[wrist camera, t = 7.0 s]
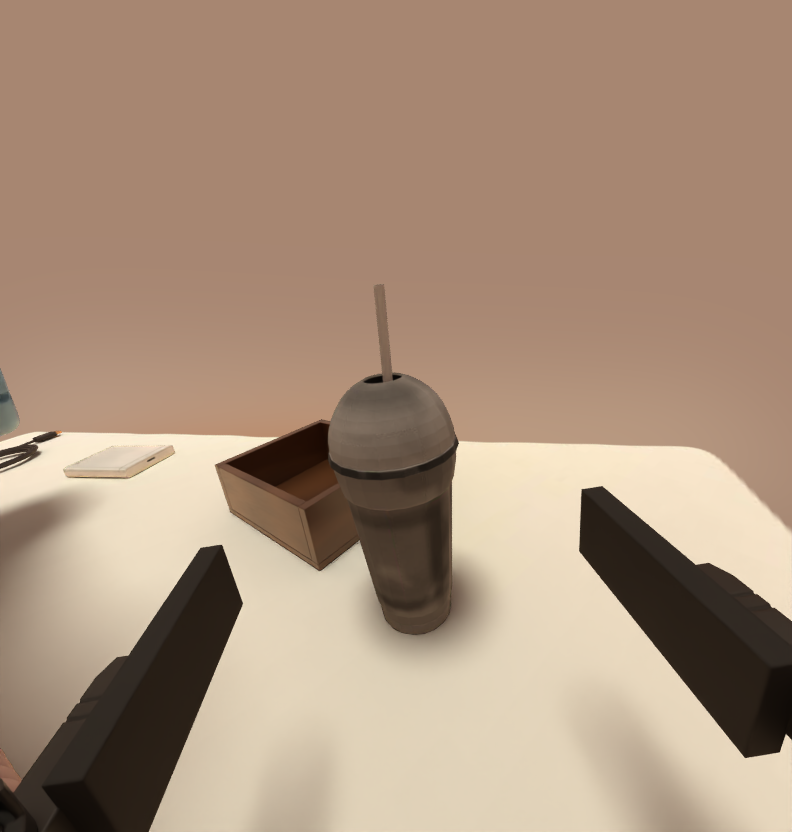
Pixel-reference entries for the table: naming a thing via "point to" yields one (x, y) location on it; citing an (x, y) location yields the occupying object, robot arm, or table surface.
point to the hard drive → (119, 461)
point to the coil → (8, 773)
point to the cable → (25, 449)
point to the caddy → (292, 494)
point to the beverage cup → (399, 487)
